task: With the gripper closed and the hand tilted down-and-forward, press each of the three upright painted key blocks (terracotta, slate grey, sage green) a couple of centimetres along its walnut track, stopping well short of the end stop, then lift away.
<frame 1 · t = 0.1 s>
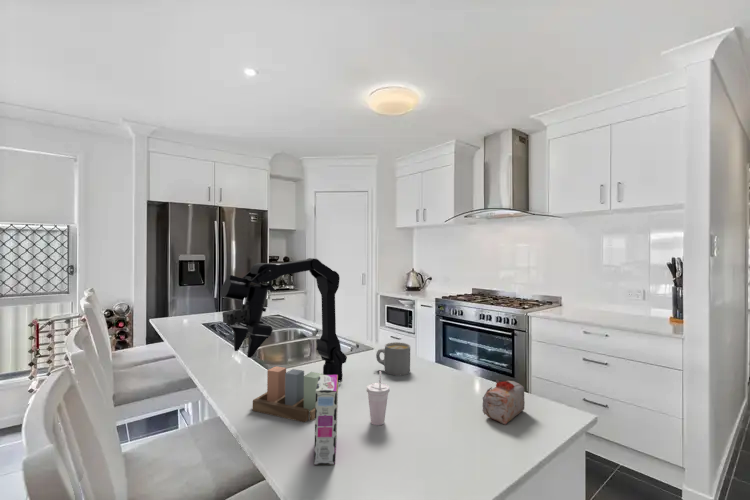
hand: (242, 354, 109), 15 cm above the counter, tool pointing down, fingers open, 9 cm apart
slate key: (294, 388, 109), point 5 cm above the counter, slide at 0.0 cm
food item: (504, 416, 105), on the counter
keybed: (298, 402, 111), on the counter
coffee mug: (393, 370, 142), on the counter
candy bar box: (326, 452, 85), on the counter
terracotta key: (276, 385, 112), point 5 cm above the counter, slide at 0.0 cm
smoothie: (377, 422, 99), on the counter
sage key: (313, 391, 107), point 5 cm above the counter, slide at 0.0 cm
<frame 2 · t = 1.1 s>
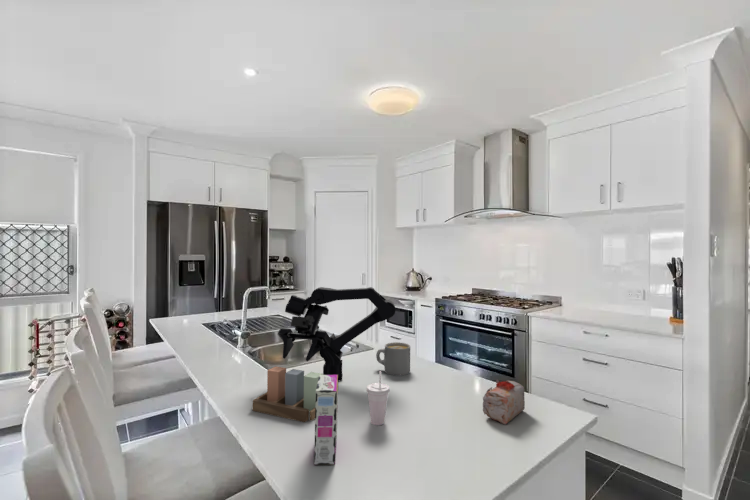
hand: (295, 359, 120), 11 cm above the counter, tool tilted 45°, fingers open, 9 cm apart
nothing on the counter moved.
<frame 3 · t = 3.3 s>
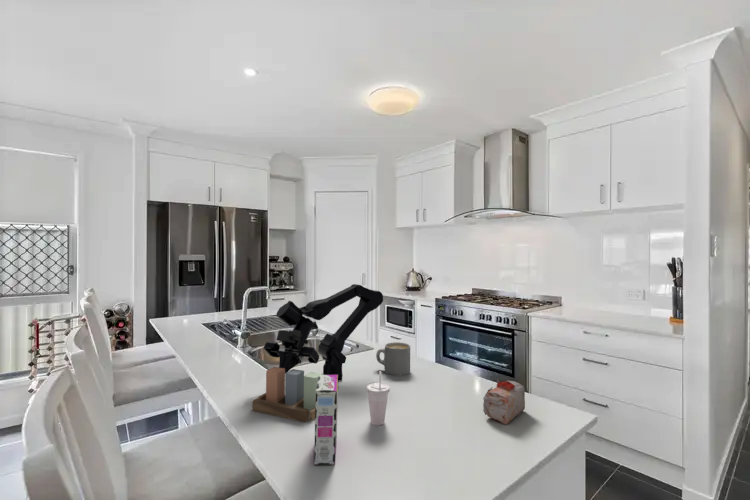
hand: (279, 376, 113), 7 cm above the counter, tool tilted 45°, fingers closed, pressing on terracotta key
terracotta key: (275, 385, 111), point 5 cm above the counter, slide at 0.6 cm, touching gripper
everything else where it was.
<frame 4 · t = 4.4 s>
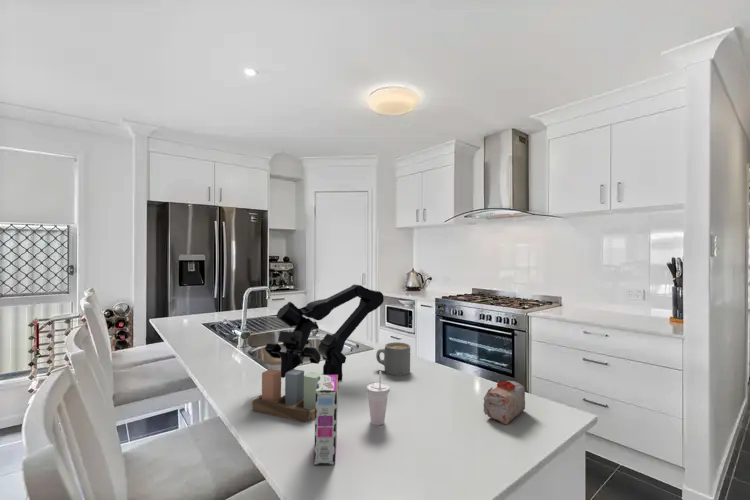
hand: (281, 377, 114), 7 cm above the counter, tool tilted 45°, fingers closed
terracotta key: (271, 388, 109), point 5 cm above the counter, slide at 2.6 cm
everything else where it was.
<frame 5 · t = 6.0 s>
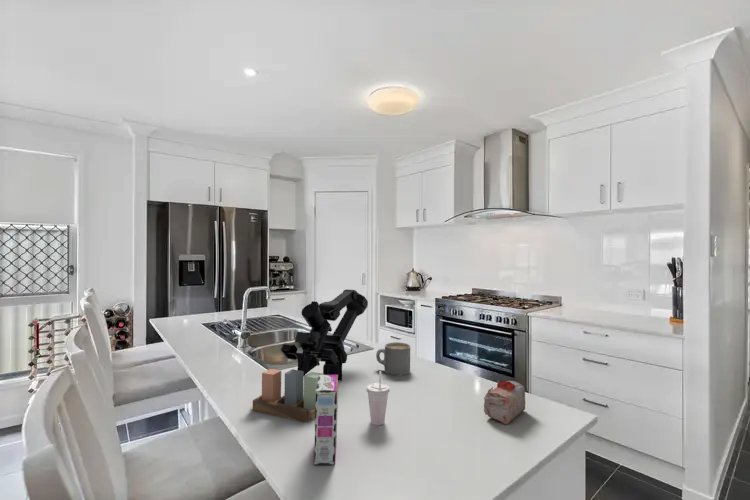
hand: (298, 378, 111), 7 cm above the counter, tool tilted 45°, fingers closed, pressing on slate key
slate key: (294, 388, 109), point 5 cm above the counter, slide at 0.3 cm, touching gripper
everything else where it was.
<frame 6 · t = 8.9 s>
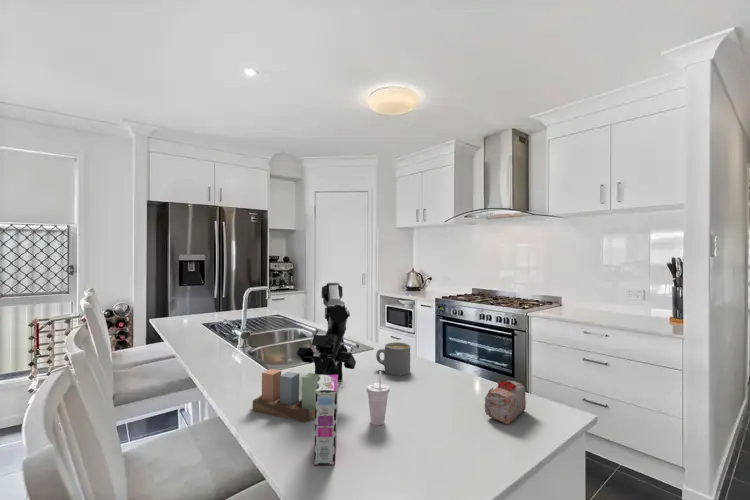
hand: (316, 382, 108), 7 cm above the counter, tool tilted 45°, fingers closed, pressing on sage key
slate key: (289, 391, 107), point 5 cm above the counter, slide at 2.6 cm
sage key: (311, 392, 106), point 5 cm above the counter, slide at 1.0 cm, touching gripper
everything else where it was.
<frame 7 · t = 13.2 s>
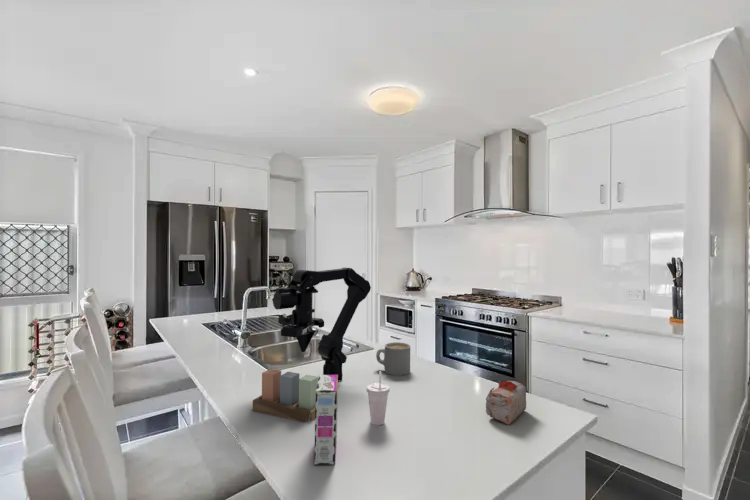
hand: (303, 351, 124), 12 cm above the counter, tool pointing down, fingers closed
sage key: (308, 394, 105), point 5 cm above the counter, slide at 2.6 cm
everything else where it was.
at the end: terracotta key slide at 2.6 cm; slate key slide at 2.6 cm; sage key slide at 2.6 cm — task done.
